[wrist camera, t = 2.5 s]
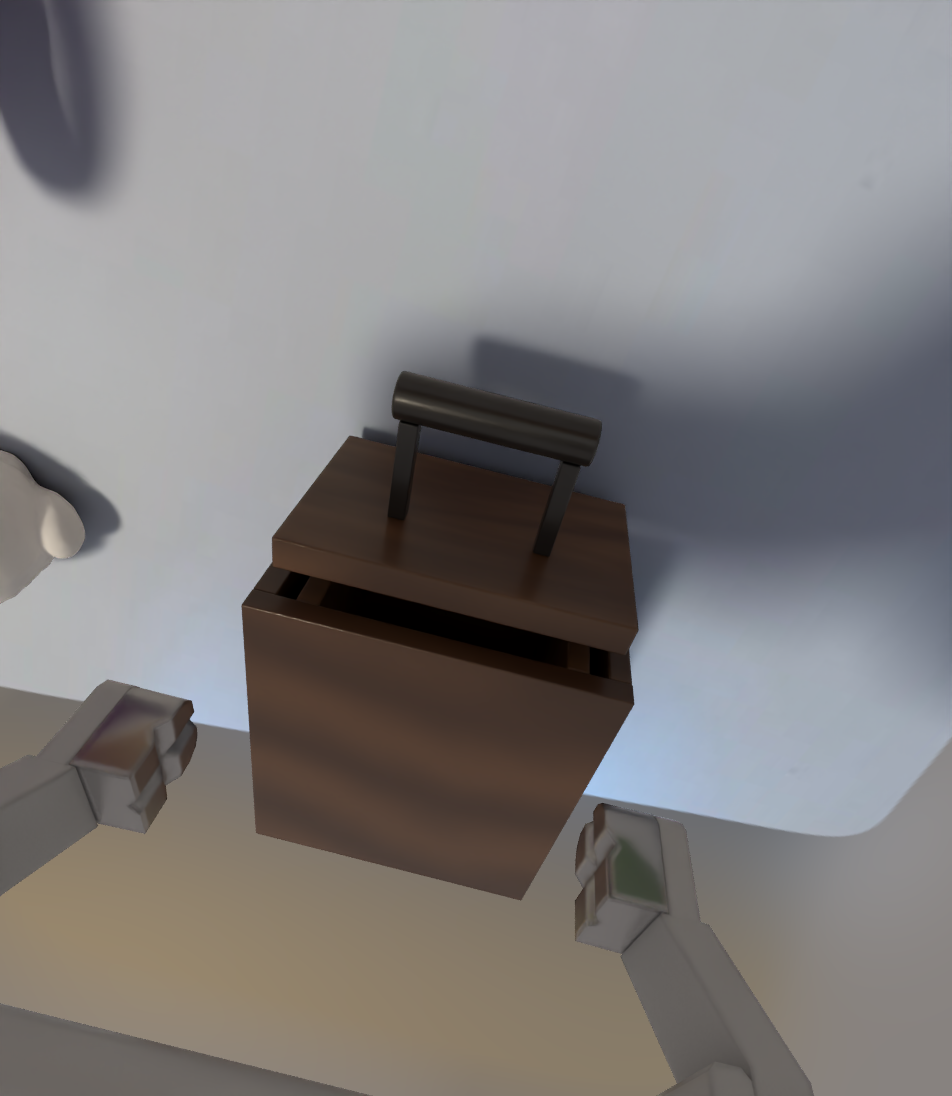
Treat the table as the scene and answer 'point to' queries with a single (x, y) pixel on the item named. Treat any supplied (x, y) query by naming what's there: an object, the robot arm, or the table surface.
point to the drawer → (469, 533)
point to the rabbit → (31, 527)
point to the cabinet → (417, 740)
